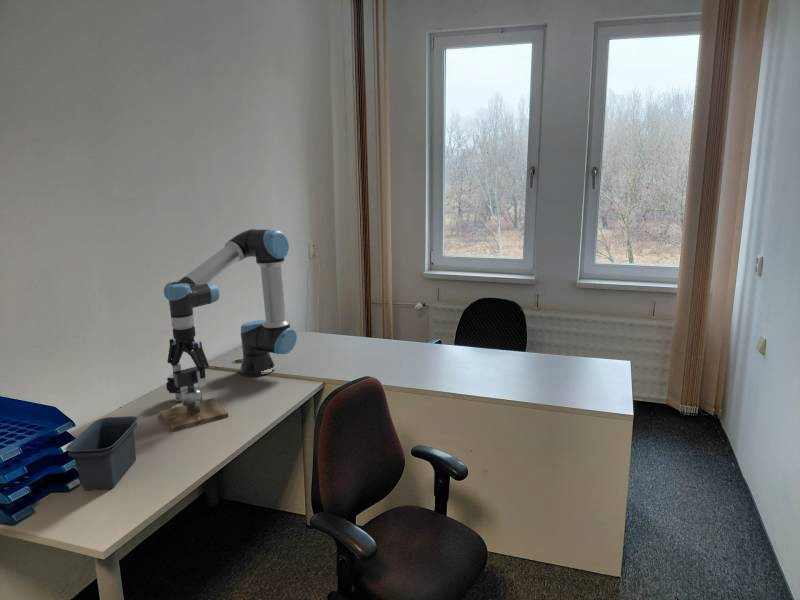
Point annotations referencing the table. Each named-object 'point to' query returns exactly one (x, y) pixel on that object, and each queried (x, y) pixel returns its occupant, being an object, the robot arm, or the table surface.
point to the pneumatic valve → (174, 388)
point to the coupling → (188, 386)
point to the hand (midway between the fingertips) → (190, 384)
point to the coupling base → (193, 414)
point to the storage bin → (104, 451)
